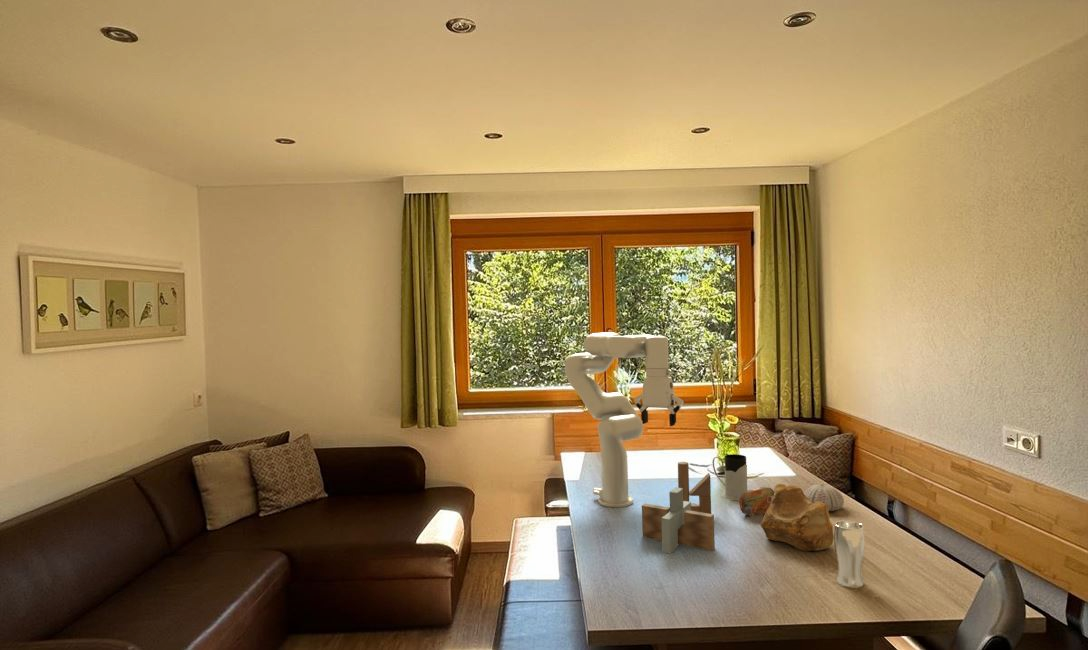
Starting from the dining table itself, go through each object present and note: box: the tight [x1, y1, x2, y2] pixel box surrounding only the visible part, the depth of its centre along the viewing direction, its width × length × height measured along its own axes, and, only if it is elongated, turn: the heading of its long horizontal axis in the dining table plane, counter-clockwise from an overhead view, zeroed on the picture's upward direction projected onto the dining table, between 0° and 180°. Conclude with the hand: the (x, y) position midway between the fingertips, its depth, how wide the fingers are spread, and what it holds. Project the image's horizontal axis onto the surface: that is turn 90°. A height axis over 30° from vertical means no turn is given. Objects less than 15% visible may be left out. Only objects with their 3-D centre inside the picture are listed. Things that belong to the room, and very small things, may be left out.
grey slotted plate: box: [661, 487, 692, 554], centre depth 191 cm, size 18×2×16 cm, turn 147°
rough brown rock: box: [760, 483, 834, 553], centre depth 189 cm, size 23×17×15 cm
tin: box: [739, 486, 774, 517], centre depth 215 cm, size 15×3×8 cm, turn 117°
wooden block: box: [677, 461, 712, 514], centre depth 215 cm, size 4×11×18 cm, turn 83°
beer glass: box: [833, 519, 866, 589], centre depth 160 cm, size 7×7×15 cm
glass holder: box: [712, 453, 748, 502], centre depth 235 cm, size 9×14×15 cm, turn 41°
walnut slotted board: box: [641, 503, 716, 551], centre depth 191 cm, size 22×2×10 cm, turn 57°
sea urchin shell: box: [803, 483, 845, 512], centre depth 219 cm, size 13×14×8 cm
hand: (658, 424), depth 210 cm, fingers open, 9 cm apart
